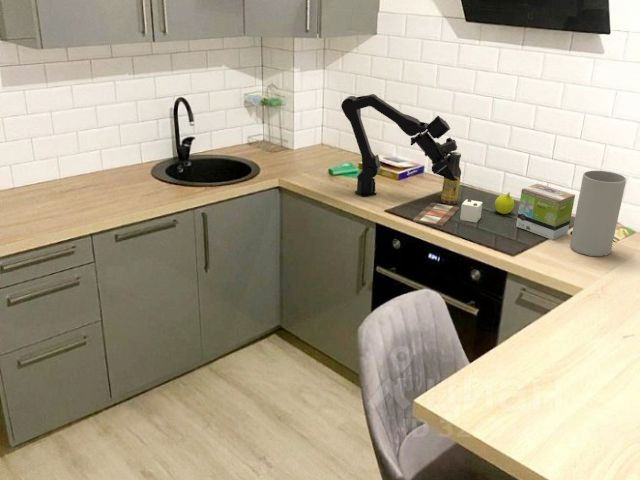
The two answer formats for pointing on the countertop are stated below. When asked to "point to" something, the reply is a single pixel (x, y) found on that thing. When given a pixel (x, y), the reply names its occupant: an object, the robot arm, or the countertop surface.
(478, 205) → the die
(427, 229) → the countertop surface
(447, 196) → the sauce bottle
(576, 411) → the countertop surface
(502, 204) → the yellow-green round fruit
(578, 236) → the cylinder vase
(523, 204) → the tea box
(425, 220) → the walnut board
